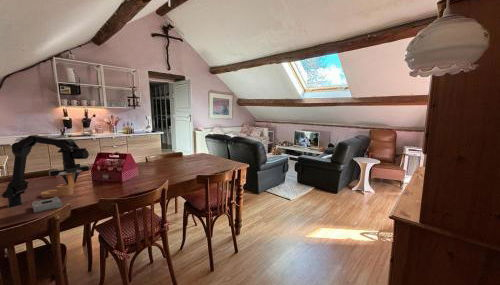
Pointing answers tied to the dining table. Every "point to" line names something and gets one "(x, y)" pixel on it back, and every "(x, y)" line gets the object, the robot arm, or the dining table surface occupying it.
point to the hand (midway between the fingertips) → (71, 184)
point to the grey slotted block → (46, 204)
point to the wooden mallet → (58, 191)
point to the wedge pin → (70, 180)
